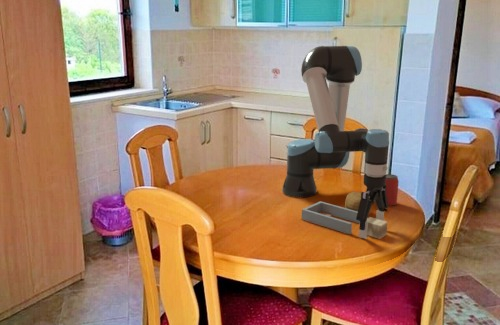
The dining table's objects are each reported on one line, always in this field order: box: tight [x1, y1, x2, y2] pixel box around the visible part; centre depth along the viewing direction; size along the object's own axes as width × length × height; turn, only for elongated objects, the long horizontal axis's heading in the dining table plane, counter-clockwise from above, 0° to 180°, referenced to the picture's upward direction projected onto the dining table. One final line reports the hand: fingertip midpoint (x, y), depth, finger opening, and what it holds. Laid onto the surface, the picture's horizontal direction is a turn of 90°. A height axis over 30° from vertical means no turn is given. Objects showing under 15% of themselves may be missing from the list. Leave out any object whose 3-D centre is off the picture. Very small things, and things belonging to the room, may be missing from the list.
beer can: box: [385, 173, 399, 207], centre depth 205 cm, size 7×7×12 cm
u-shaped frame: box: [301, 200, 360, 235], centre depth 187 cm, size 21×12×4 cm, turn 48°
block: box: [367, 216, 388, 240], centre depth 176 cm, size 5×5×7 cm
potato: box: [344, 191, 362, 212], centre depth 195 cm, size 10×14×8 cm
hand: (371, 232), depth 178 cm, fingers open, 11 cm apart
